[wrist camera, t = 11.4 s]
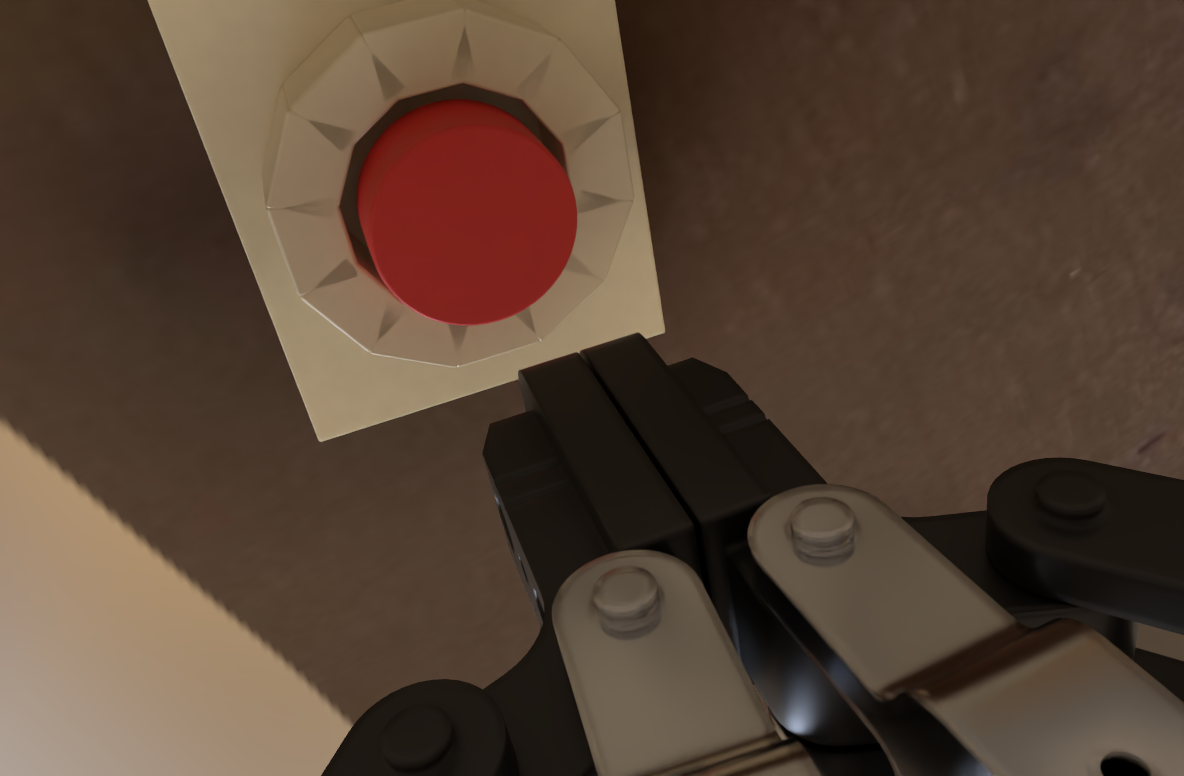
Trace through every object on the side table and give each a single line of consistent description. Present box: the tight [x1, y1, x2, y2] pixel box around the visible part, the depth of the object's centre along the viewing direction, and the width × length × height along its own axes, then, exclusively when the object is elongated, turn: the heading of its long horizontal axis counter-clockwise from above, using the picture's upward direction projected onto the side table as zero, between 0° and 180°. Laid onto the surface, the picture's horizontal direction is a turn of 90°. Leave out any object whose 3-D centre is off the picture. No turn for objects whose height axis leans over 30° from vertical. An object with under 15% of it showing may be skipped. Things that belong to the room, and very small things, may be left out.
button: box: [357, 99, 577, 326], centre depth 18 cm, size 4×4×2 cm
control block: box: [148, 0, 665, 442], centre depth 20 cm, size 10×8×4 cm
